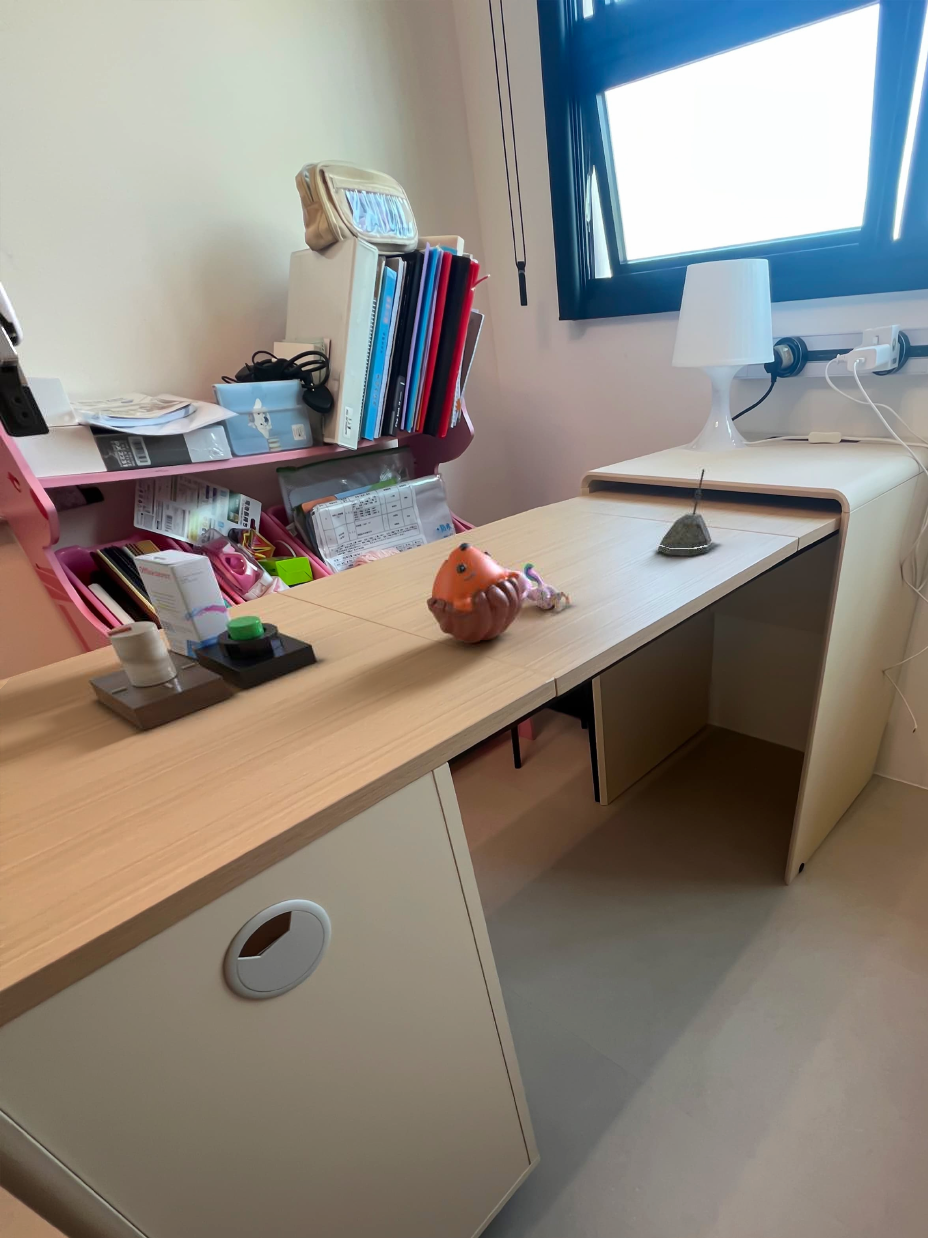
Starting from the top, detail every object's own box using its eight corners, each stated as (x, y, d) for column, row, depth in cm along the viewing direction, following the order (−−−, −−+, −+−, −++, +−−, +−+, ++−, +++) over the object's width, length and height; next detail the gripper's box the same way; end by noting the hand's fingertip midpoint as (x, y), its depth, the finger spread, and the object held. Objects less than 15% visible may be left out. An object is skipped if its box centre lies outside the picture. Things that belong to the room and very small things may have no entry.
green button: (225, 637, 76) (220, 622, 75) (254, 627, 78) (249, 613, 77) (241, 643, 74) (235, 628, 73) (270, 633, 76) (265, 619, 75)
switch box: (200, 666, 78) (187, 635, 76) (269, 642, 84) (259, 612, 82) (245, 689, 73) (232, 656, 70) (317, 661, 78) (307, 629, 76)
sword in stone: (687, 559, 107) (691, 480, 100) (651, 551, 112) (652, 475, 105) (724, 546, 113) (729, 470, 106) (688, 539, 117) (691, 466, 110)
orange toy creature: (477, 616, 89) (464, 529, 82) (541, 626, 85) (533, 535, 78) (419, 648, 81) (399, 553, 74) (487, 661, 76) (472, 562, 70)
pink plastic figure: (575, 611, 93) (498, 579, 99) (579, 571, 89) (498, 539, 95) (548, 625, 89) (468, 590, 95) (550, 583, 85) (467, 550, 91)
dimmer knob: (166, 666, 73) (143, 615, 69) (184, 675, 70) (161, 623, 67) (124, 680, 70) (98, 628, 66) (142, 690, 68) (116, 637, 64)
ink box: (245, 649, 82) (209, 553, 76) (208, 663, 79) (167, 565, 72) (207, 638, 86) (169, 546, 80) (170, 651, 83) (128, 556, 76)
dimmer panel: (99, 700, 72) (87, 678, 70) (181, 671, 77) (172, 650, 76) (144, 731, 66) (132, 707, 64) (230, 697, 71) (221, 675, 70)
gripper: (-169, 191, 55) (-38, 436, 66) (-135, 160, 47) (7, 444, 58) (-58, 200, 60) (47, 428, 70) (-11, 173, 52) (100, 433, 62)
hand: (29, 434), depth 64 cm, fingers closed
